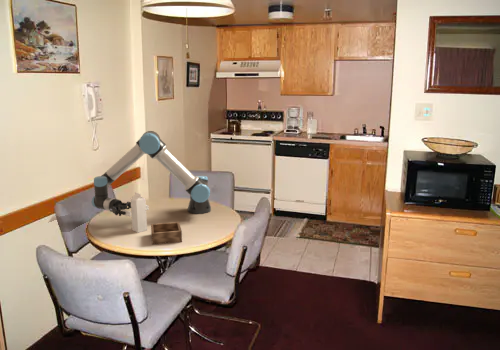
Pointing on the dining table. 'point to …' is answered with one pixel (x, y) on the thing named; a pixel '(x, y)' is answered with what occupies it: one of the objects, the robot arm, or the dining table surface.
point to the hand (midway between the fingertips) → (139, 210)
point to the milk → (138, 213)
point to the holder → (166, 233)
